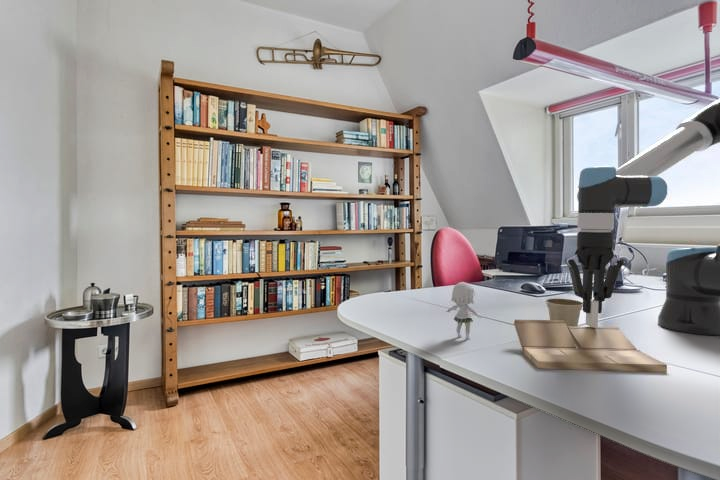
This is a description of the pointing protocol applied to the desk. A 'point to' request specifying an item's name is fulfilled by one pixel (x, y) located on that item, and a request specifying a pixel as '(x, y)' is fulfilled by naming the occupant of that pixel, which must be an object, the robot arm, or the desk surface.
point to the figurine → (463, 306)
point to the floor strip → (593, 359)
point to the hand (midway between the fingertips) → (591, 325)
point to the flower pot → (564, 310)
